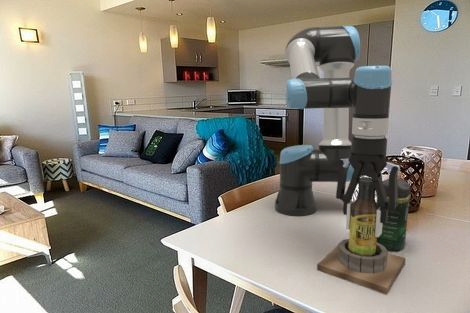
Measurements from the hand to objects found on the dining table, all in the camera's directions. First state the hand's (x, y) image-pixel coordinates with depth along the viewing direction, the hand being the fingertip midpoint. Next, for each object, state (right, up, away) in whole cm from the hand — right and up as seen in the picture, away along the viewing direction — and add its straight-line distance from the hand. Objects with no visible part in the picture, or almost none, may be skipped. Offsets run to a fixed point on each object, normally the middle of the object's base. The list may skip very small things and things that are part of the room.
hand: (363, 230), depth 78 cm
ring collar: (0, -9, +2) cm, 9 cm away
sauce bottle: (0, -7, +1) cm, 7 cm away
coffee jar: (+13, -7, +13) cm, 20 cm away
